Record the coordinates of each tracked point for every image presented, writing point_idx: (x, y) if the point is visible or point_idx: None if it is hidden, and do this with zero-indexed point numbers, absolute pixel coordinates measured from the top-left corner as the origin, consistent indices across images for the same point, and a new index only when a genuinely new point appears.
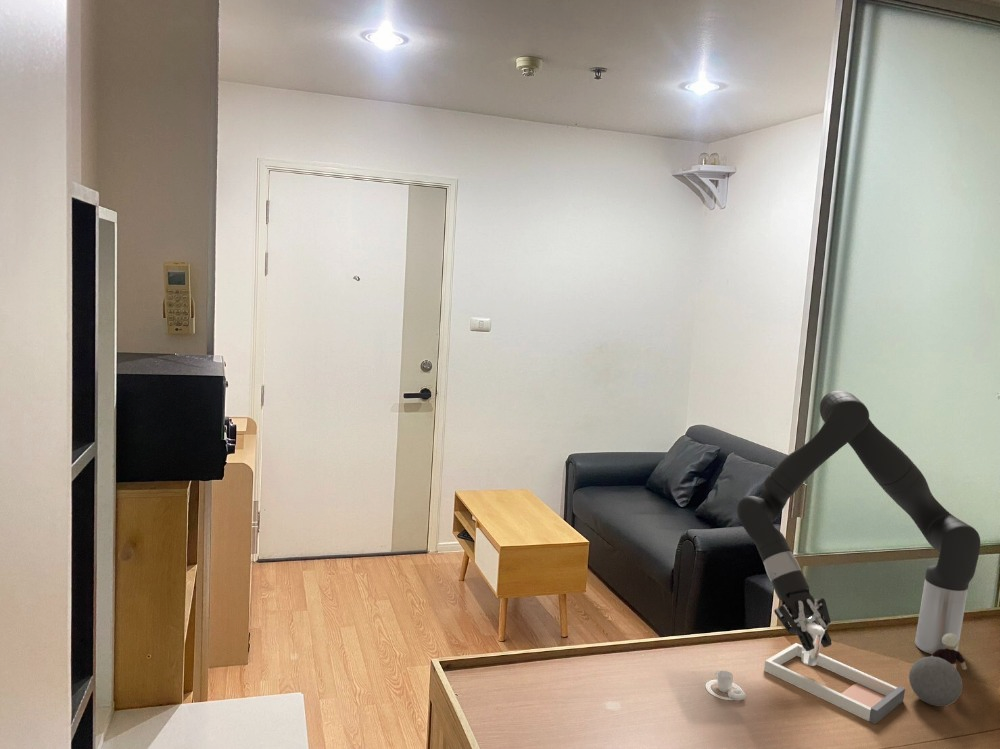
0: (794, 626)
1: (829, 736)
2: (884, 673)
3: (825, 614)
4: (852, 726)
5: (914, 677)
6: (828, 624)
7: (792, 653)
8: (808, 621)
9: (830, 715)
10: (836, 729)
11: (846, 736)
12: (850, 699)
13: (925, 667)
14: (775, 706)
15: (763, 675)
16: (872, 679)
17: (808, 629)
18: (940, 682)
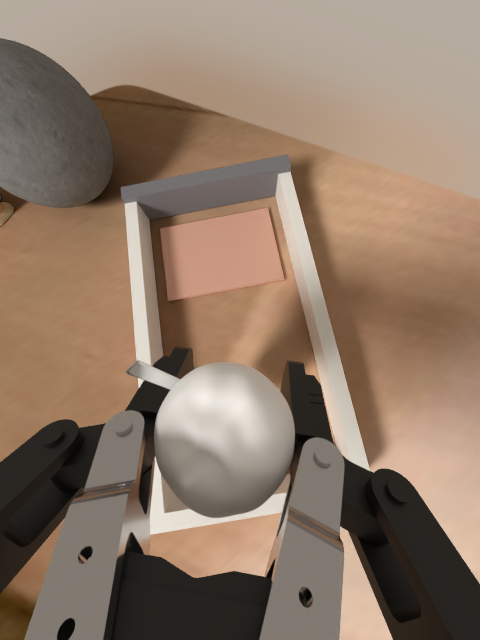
0: (414, 507)
1: (422, 193)
2: (49, 303)
3: (3, 496)
4: (338, 196)
5: (84, 147)
6: (140, 370)
7: None
8: (148, 543)
9: (352, 241)
10: (384, 202)
11: (384, 179)
12: (296, 219)
13: (40, 87)
14: (466, 324)
15: (381, 457)
16: (142, 259)
17: (289, 434)
18: (69, 74)
